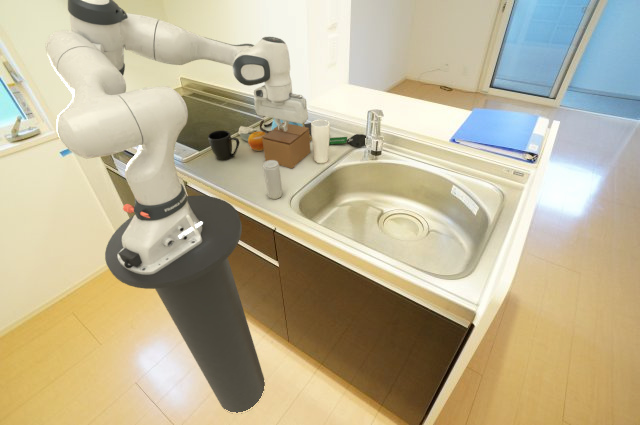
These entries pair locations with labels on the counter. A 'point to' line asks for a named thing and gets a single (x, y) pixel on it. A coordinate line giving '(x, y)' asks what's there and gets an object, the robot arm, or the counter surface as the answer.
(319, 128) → the drinking glass
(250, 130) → the arrowhead
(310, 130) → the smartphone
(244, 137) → the rock
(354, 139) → the rock
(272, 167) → the beverage can
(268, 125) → the brown curved piece
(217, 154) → the mug
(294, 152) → the carton
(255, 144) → the fruit
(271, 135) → the flap
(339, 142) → the business card
